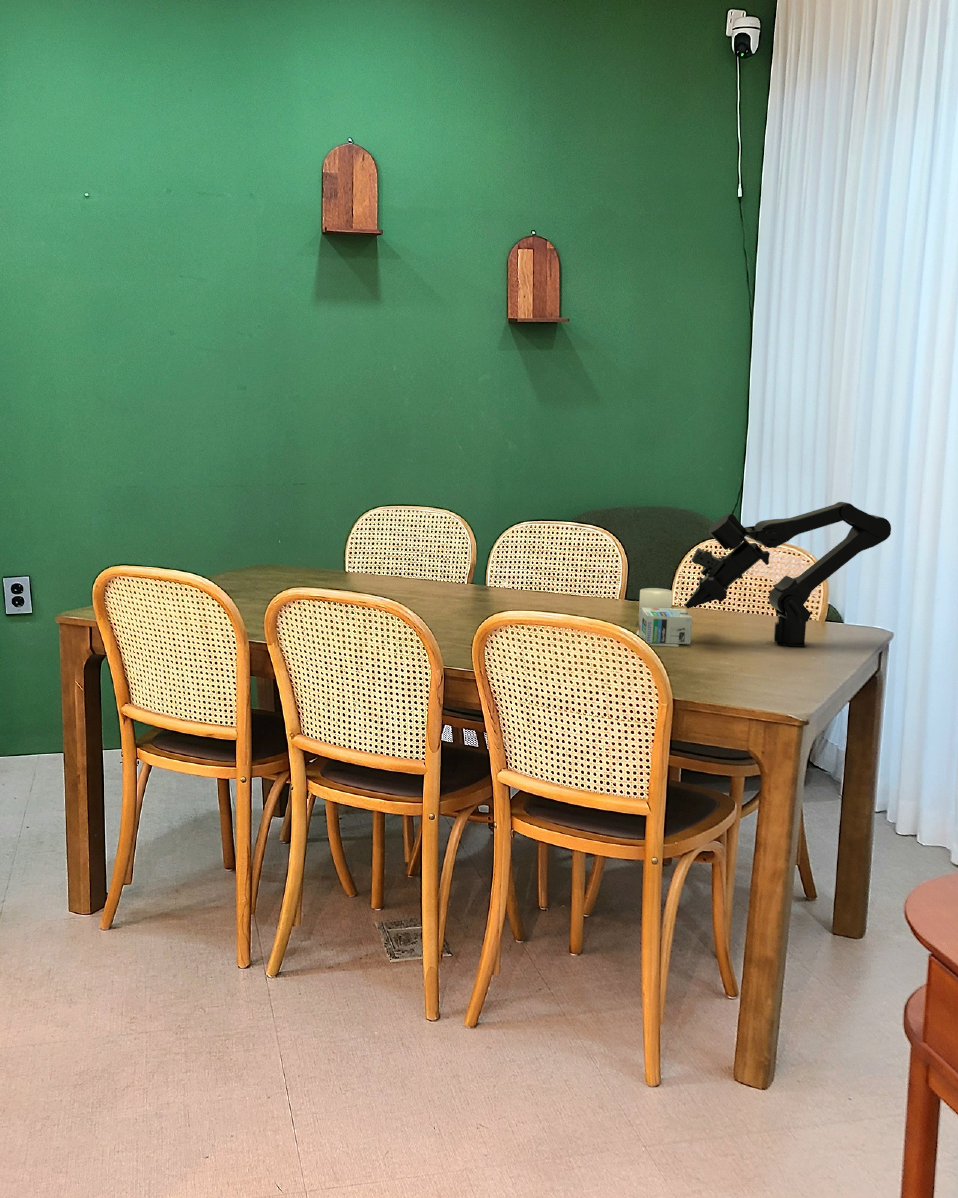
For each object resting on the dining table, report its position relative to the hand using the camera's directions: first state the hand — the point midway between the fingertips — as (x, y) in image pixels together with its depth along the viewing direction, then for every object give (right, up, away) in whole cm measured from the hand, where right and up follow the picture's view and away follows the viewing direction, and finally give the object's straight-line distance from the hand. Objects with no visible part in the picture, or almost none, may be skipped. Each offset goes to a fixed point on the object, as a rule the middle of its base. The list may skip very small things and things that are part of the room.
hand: (686, 606), depth 259 cm
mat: (-6, -8, +3) cm, 10 cm away
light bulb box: (+1, -5, 0) cm, 5 cm away
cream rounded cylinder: (-5, -5, +18) cm, 20 cm away
